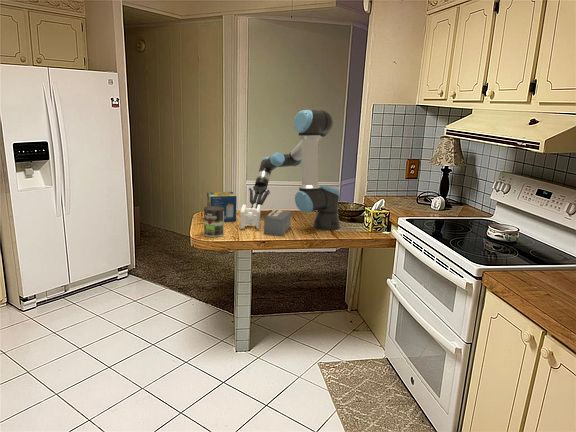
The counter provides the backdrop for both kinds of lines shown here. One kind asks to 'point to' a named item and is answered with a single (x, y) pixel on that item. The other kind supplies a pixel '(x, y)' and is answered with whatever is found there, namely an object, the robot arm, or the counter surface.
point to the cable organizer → (250, 216)
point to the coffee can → (213, 221)
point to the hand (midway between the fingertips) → (252, 214)
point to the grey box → (277, 222)
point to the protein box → (224, 203)
